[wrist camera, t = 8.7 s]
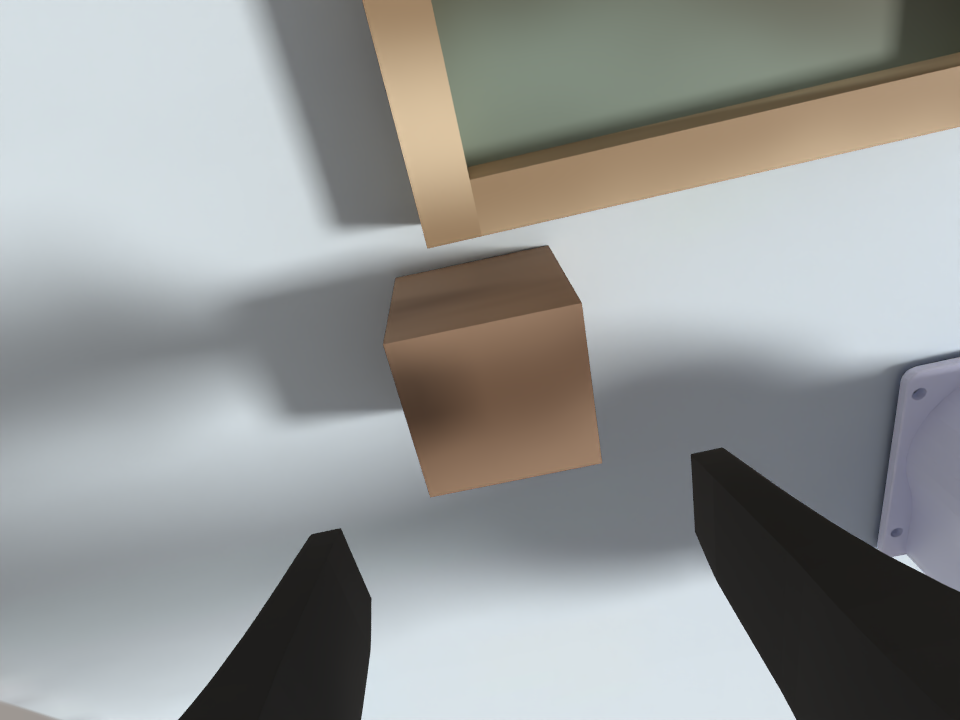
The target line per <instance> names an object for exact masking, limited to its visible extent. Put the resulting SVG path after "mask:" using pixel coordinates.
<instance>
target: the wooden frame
mask: <svg viewBox="0 0 960 720" xmlns="http://www.w3.org/2000/svg"><path fill="white" fill-rule="evenodd" d="M362 1H363V5H364V9H365V13H366V16H367V20H368V24H369V28H370V32H371V35H372V39H373V43H374V47H375V51H376V54H377V58H378V62H379V66H380V70H381V74H382V77H383V81H384V85H385V89H386V93H387V96H388V100H389V104H390V108H391V112H392V115H393V119H394V123H395V127H396V131H397V134H398V138H399V142H400V146H401V150H402V153H403V157H404V161H405V165H406V169H407V172H408V176H409V180H410V184H411V188H412V191H413V195H414V199H415V203H416V207H417V210H418V214H419V218H420V222H421V226H422V229H423V233H424V237H425V241H426V245H427V249H428V248H432V247H437V246H441V245H445V244H450V243H454V242H458V241H463V240H467V239H471V238H476V237H480V236H485V235H489V234H493V233H498V232H502V231H506V230H511V229H515V228H520V227H524V226H528V225H533V224H537V223H541V222H546V221H550V220H554V219H559V218H563V217H568V216H572V215H576V214H581V213H585V212H589V211H594V210H598V209H603V208H607V207H611V206H616V205H620V204H624V203H629V202H633V201H637V200H642V199H646V198H651V197H655V196H659V195H664V194H668V193H672V192H677V191H681V190H686V189H690V188H694V187H699V186H703V185H707V184H712V183H716V182H720V181H725V180H729V179H734V178H738V177H742V176H747V175H751V174H755V173H760V172H764V171H769V170H773V169H777V168H782V167H786V166H790V165H795V164H799V163H803V162H808V161H812V160H817V159H821V158H825V157H830V156H834V155H838V154H843V153H847V152H852V151H856V150H860V149H865V148H869V147H873V146H878V145H882V144H886V143H891V142H895V141H900V140H904V139H908V138H913V137H917V136H921V135H926V134H930V133H935V132H939V131H943V130H948V129H952V128H956V127H960V0H362Z"/></svg>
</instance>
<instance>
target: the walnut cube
mask: <svg viewBox="0 0 960 720" xmlns="http://www.w3.org/2000/svg"><path fill="white" fill-rule="evenodd" d="M383 346H384V349H385V353H386V356H387V359H388V362H389V366H390V369H391V372H392V375H393V378H394V382H395V385H396V388H397V391H398V395H399V398H400V401H401V404H402V408H403V411H404V414H405V417H406V420H407V424H408V427H409V430H410V433H411V437H412V440H413V443H414V446H415V450H416V453H417V456H418V459H419V462H420V466H421V469H422V472H423V475H424V479H425V482H426V485H427V488H428V492H429V495H430V497H435V496H440V495H445V494H450V493H455V492H460V491H465V490H470V489H475V488H480V487H485V486H490V485H495V484H500V483H505V482H510V481H515V480H520V479H525V478H530V477H535V476H540V475H545V474H550V473H555V472H560V471H565V470H570V469H575V468H580V467H585V466H590V465H595V464H600V463H602V459H601V451H600V443H599V435H598V427H597V419H596V411H595V404H594V396H593V388H592V380H591V372H590V364H589V356H588V348H587V341H586V333H585V325H584V317H583V309H582V303H581V301H580V299H579V297H578V296H577V294H576V292H575V291H574V289H573V287H572V285H571V284H570V282H569V280H568V278H567V277H566V275H565V273H564V272H563V270H562V268H561V266H560V265H559V263H558V261H557V260H556V258H555V256H554V254H553V253H552V251H551V249H550V248H549V246H543V247H538V248H534V249H529V250H524V251H520V252H515V253H510V254H505V255H501V256H496V257H491V258H487V259H482V260H477V261H473V262H468V263H463V264H459V265H454V266H449V267H445V268H440V269H435V270H431V271H426V272H421V273H417V274H412V275H407V276H403V277H398V278H395V284H394V289H393V294H392V300H391V305H390V310H389V315H388V321H387V326H386V331H385V337H384V342H383Z"/></svg>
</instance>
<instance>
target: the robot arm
mask: <svg viewBox="0 0 960 720" xmlns="http://www.w3.org/2000/svg"><path fill="white" fill-rule="evenodd" d="M917 389H918V390H917ZM916 390H917V391H916ZM915 391H916V392H915ZM913 392H915V393H914V394H913ZM691 465H692V483H693V502H694V520H695V533H696V535H697V537H698V540H699V542H700V544H701V547H702V549H703V551H704V554H705V556H706V558H707V561H708V563H709V565H710V567H711V569H712V572H713V574H714V576H715V578H716V580H717V582H718V584H719V586H720V587H721V589H722V591H723V593H724V594H725V596H726V598H727V600H728V601H729V603H730V605H731V606H732V608H733V610H734V612H735V613H736V615H737V617H738V619H739V620H740V622H741V624H742V625H743V627H744V629H745V630H746V632H747V634H748V635H749V637H750V639H751V641H752V642H753V644H754V646H755V647H756V649H757V651H758V652H759V654H760V656H761V658H762V659H763V661H764V663H765V664H766V666H767V668H768V669H769V671H770V673H771V675H772V676H773V678H774V680H775V681H776V683H777V685H778V686H779V688H780V690H781V692H782V693H783V695H784V697H785V699H786V701H787V703H788V705H789V706H790V708H791V710H792V712H793V714H794V716H795V718H796V720H960V357H958V358H953V359H948V360H944V361H939V362H934V363H930V364H925V365H920V366H916V367H913V368H911V369H909V370H908V371H906V372H905V374H904V375H903V376H902V379H901V383H900V390H899V397H898V404H897V411H896V418H895V425H894V431H893V438H892V445H891V452H890V459H889V466H888V473H887V480H886V487H885V494H884V501H883V508H882V515H881V522H880V529H879V536H878V543H877V549H878V550H877V549H876V548H874V547H872V546H871V545H869V544H867V543H865V542H864V541H862V540H860V539H859V538H857V537H855V536H853V535H852V534H850V533H848V532H847V531H845V530H843V529H842V528H840V527H839V526H837V525H835V524H834V523H832V522H831V521H829V520H827V519H826V518H824V517H823V516H821V515H820V514H818V513H817V512H815V511H814V510H812V509H810V508H809V507H807V506H806V505H804V504H803V503H801V502H800V501H798V500H797V499H795V498H794V497H792V496H791V495H789V494H788V493H786V492H785V491H783V490H782V489H781V488H779V487H778V486H776V485H775V484H773V483H772V482H771V481H769V480H768V479H766V478H765V477H763V476H762V475H761V474H759V473H758V472H756V471H755V470H754V469H752V468H751V467H749V466H748V465H747V464H745V463H744V462H742V461H741V460H740V459H738V458H737V457H735V456H734V455H732V454H731V453H730V452H728V451H727V450H725V449H724V448H718V449H713V450H709V451H704V452H699V453H694V454H691ZM904 554H907V555H908V556H909V558H910V559H911V560H912V561H913V562H914V563H915V564H916V565H917V566H918V567H919V568H920V569H921V570H922V571H923V572H924V573H925V574H923V573H921V572H919V571H917V570H915V569H913V568H911V567H909V566H907V565H905V564H903V563H901V562H899V561H897V560H896V559H894V558H892V557H894V556H899V555H904ZM370 648H371V597H370V594H369V592H368V590H367V588H366V585H365V583H364V581H363V578H362V576H361V574H360V571H359V569H358V567H357V565H356V562H355V560H354V558H353V555H352V553H351V551H350V548H349V546H348V544H347V542H346V539H345V537H344V535H343V532H342V530H341V528H340V529H335V530H330V531H326V532H321V533H316V534H311V535H310V537H309V538H308V540H307V541H306V543H305V544H304V546H303V547H302V549H301V550H300V552H299V553H298V555H297V556H296V558H295V559H294V561H293V563H292V564H291V566H290V567H289V569H288V570H287V572H286V573H285V575H284V576H283V578H282V580H281V581H280V583H279V584H278V586H277V587H276V589H275V590H274V592H273V593H272V595H271V596H270V598H269V599H268V601H267V602H266V604H265V605H264V607H263V608H262V610H261V611H260V613H259V614H258V616H257V617H256V618H255V620H254V621H253V623H252V624H251V626H250V627H249V629H248V630H247V632H246V633H245V635H244V636H243V637H242V639H241V640H240V641H239V643H238V644H237V645H236V647H235V648H234V650H233V651H232V652H231V654H230V655H229V656H228V658H227V659H226V660H225V662H224V663H223V665H222V666H221V667H220V669H219V670H218V671H217V673H216V674H215V675H214V677H213V678H212V679H211V681H210V682H209V683H208V684H207V686H206V687H205V688H204V689H203V691H202V692H201V693H200V694H199V696H198V697H197V698H196V699H195V701H194V702H193V703H192V704H191V705H190V707H189V708H188V709H187V710H186V711H185V712H184V714H183V715H182V716H181V717H180V718H179V719H178V720H361V716H362V709H363V702H364V695H365V688H366V680H367V673H368V666H369V658H370Z"/></svg>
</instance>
